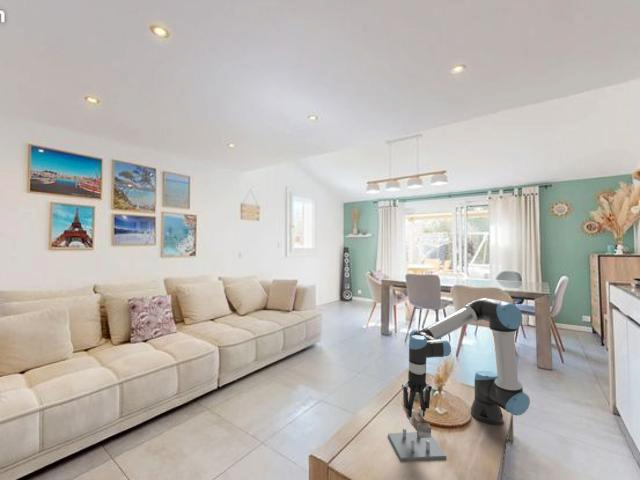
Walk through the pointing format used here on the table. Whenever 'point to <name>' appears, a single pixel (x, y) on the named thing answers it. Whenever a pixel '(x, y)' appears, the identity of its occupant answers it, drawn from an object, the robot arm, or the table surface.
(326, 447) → the table surface
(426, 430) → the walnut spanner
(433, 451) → the slate peg board
